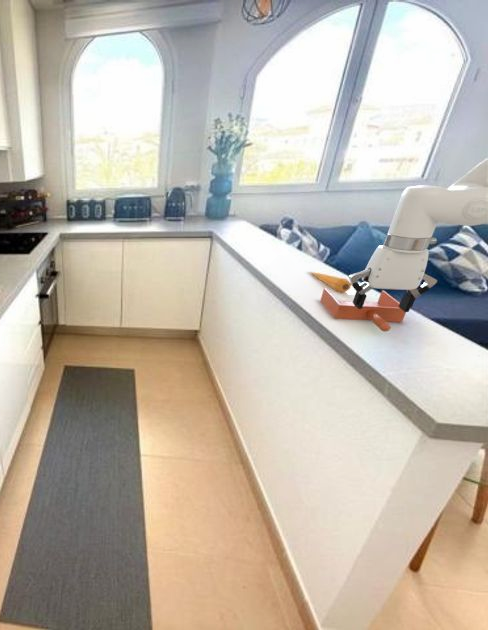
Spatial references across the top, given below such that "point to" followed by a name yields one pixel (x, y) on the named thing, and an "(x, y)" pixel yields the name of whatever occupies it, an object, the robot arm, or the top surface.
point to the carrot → (334, 282)
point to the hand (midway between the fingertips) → (379, 308)
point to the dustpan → (365, 310)
